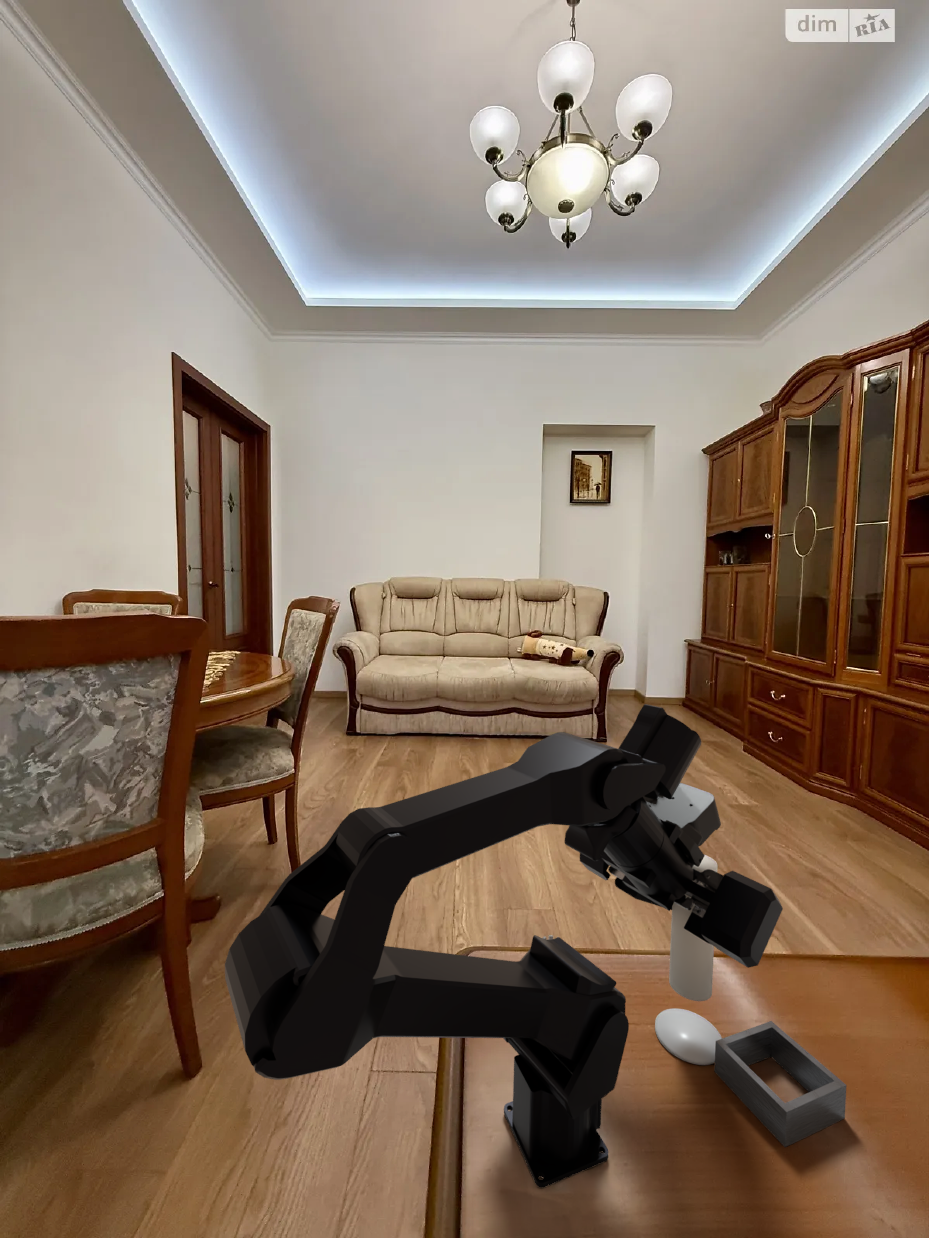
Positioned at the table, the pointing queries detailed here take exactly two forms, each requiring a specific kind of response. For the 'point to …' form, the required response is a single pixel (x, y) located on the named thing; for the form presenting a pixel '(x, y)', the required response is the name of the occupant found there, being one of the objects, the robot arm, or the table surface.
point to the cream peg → (690, 952)
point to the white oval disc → (687, 1036)
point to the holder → (777, 1116)
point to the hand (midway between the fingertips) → (701, 918)
